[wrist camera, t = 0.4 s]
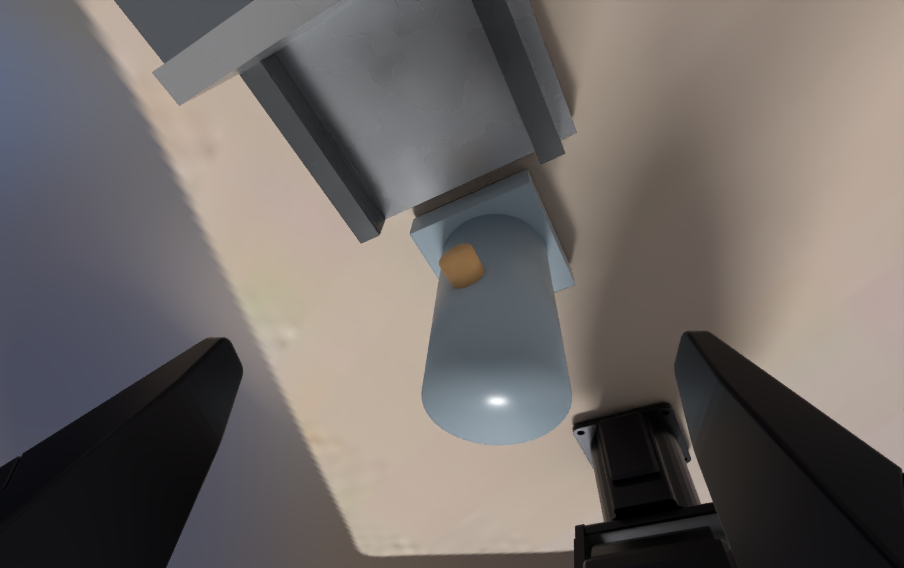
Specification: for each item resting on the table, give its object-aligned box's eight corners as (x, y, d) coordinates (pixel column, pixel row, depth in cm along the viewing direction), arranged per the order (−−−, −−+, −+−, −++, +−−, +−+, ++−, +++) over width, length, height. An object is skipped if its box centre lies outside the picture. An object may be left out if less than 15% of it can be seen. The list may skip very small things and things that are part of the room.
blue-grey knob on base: (571, 267, 24) (610, 430, 16) (467, 304, 26) (456, 467, 18) (523, 159, 21) (542, 295, 13) (408, 210, 23) (363, 357, 15)
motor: (573, 124, 20) (606, 198, 14) (360, 222, 23) (319, 312, 18) (382, -401, 12) (288, -692, 7) (109, -138, 16) (-103, -180, 10)
